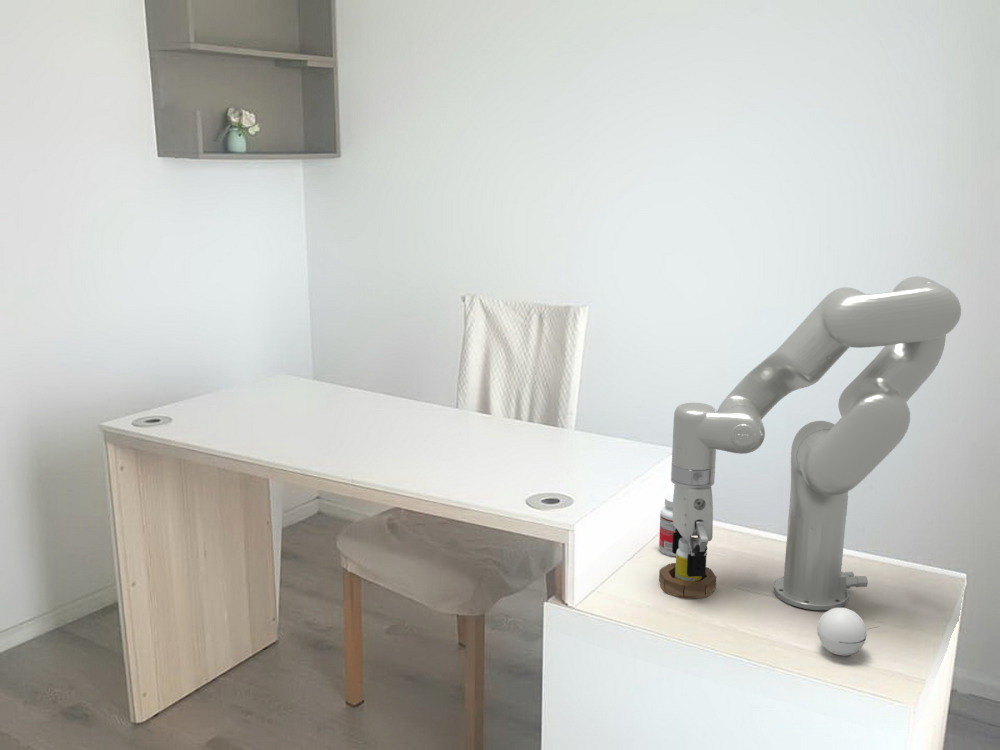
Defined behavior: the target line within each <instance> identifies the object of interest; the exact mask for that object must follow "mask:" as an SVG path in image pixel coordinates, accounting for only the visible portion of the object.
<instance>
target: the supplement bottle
mask: <svg viewBox="0 0 1000 750" xmlns="http://www.w3.org/2000/svg"><path fill="white" fill-rule="evenodd" d="M694 537H695V536H691V538H694ZM696 545H698V542H696V543H693V546H694V548H695V546H696ZM688 554H690V552H689V545H688V541H686V540H685V539H684V538H683V537H682V538H680V539H679V548H678V549H677V552H676V556H675V563H676V569H675V579H678V580H681V581H684V582H697V581H702V576H694V577H689V576H688V575H687V558H688Z"/></svg>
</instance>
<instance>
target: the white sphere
mask: <svg viewBox="0 0 1000 750" xmlns="http://www.w3.org/2000/svg"><path fill="white" fill-rule="evenodd" d="M875 628H880V626H874V627H870V628H868V630H871V629H875ZM817 636H818V638H819V641H820V643H821V645H822V646H823V647H824V648H825V649H826V650H827V651H828V652H830V653H831V654H832V653H833V654H834V655H837V656H851V655H853V654H855V653H857V652H859V651H860V650H861V649H862V647H864V645H865V643H866V640H867V637H868V636H867V626H866V624H865V623H864V620H863V619H862V617H861V616H859V614H858V613H857V612H855V611H854V610H851V609H849V608H846V607H840V608H833V609H830V610H826V611H825V612H824V613H823V614H822V616H821V617H820V618H819V620H818V624H817Z"/></svg>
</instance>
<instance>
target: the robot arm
mask: <svg viewBox="0 0 1000 750" xmlns="http://www.w3.org/2000/svg"><path fill="white" fill-rule="evenodd" d="M961 316H962V308H961V303H960V300H959V298H958V297H957V295H956V294H955V293H954V292H953V291H952V290H951V289H950V288H948V287H946V286H944V285H942V284H940V283H939V282H936V281H935V280H933V279H931V278H927V277H924V276H918V275H917V276H910V277H907V278H905V279H902V281H900V282H898V284H897V285H896V286H895V287H894V288H893V290H892V291H888V292H879V293H864V292H863V291H860V289H856V288H853V287H847V286H846V287H845V286H844V287H838V288H836V289H834V290H833V291H831V292H830V293H828V294H827V295H826V296H825V297H824V298H823V299H822V300H821V301H820V302H819V303H818V304H817V306H815V307H814V309H812V311H811V312H810V313H809V314H808V315H807V317H806V318H805V319H804V320H803V321H802V322H801V323H800V324H799V325H798V326H797V327H796V328H795V330H794V331H793V332H792V333H791V334H790V335H789V336H788V337H787V338H786V340H784V342H783V343H782V344H781V345H780V346H779V347H778V348H776V350H775V351H774V352H772V353H771V354H769V355H768V356H767V357H766V358H765V359H764V360H762V361H761V362H760V363H759V364H757V366H755V367H754V368H753V369H752V370H751V371H750V372H748V373H747V374H746V375H745V376H744V377H743V378H742V380H740V382H739V383H738V384H737V385H736V386H735V387H734V388H733V389H732V390H731V391H730V393H728V395H727V396H726V397H725V399H723V401H722V402H721V403H720V405H719V407H718V408H717V409H716V408H715V407H714V406H712V405H710V404H706V403H701V402H685V403H682V404H679V405H678V406H677V407H676V408H675V410H674V414H673V429H672V430H673V431H672V449H671V452H672V453H671V470H670V471H671V473H670V481H671V483H672V484H673V485H674V487H673V488H674V489H673V494H674V496H673V523H674V525H673V531H674V532H673V544H672V552H673V553H674V554H676V552H677V549H678V548H679V539H680V538H682V537H683V538H684V539H685V540H686V541H688V545H689V552H690V554H688V558H687V575H688V576H689V577H694V576H705V573H706V567H707V556H708V543H709V542H710V541H712V540H713V536H714V535H713V533H714V532H713V531H714V529H713V525H714V524H713V521H714V517H713V516H714V515H713V514H714V511H713V509H714V506H713V504H714V503H713V491H712V486H714V484H715V475H716V461H717V460H716V459H717V458H716V457H717V451H718V450H719V451H724V452H727V453H733V454H739V455H740V454H741V455H742V454H743V455H744V454H745V455H746V454H751V453H753V452H755V451H756V450H759V448H760V447H761V446H762V445H763V443H764V440H765V436H766V431H765V426H764V423H763V421H762V420H763V418H765V416H767V414H768V413H769V412H770V411H771V410H772V409H773V408H774V407H775V406H776V405H777V404H778V403H779V402H780V401H782V400H783V399H784V398H785V397H786V396H788V395H789V394H791V393H793V392H794V391H795V392H796V391H797V390H800V389H804V388H808V387H811V386H813V385H815V384H816V383H818V382H819V381H820V380H821V379H822V378H823V376H825V374H827V372H828V371H829V370H830V369H831V368H832V367H833V366H834V365H835V364H836V363H837V362H838V361H839V359H840V358H841V357H843V355H844V354H845V353H846V352H847V351H848V350H849V349H850V348H856V349H857V348H859V349H861V348H875V347H876V348H877V347H882V349H881V350H880V351H879V353H878V354H877V355H876V356H875V357H874V358H873V359H872V361H870V363H869V364H868V365H867V366H865V368H864V369H863V370H862V371H861V372H860V373H859V374H858V375H857V376H856V377H855V378H854V379H853V380H852V381H851V382H850V383H849V384H848V385H847V386H846V387H845V388H844V389H843V391H842V392H841V394H840V396H839V399H838V402H837V404H838V410H839V414H840V416H841V418H840V419H838V421H837V422H836V423H835V424H834V423H833V422H830V421H826V420H814V421H810V422H809V423H806V424H805V425H804V426H802V427H801V428H800V429H799V430H798V431H797V433H796V434H795V435H794V438H793V440H792V444H791V449H790V450H791V452H790V496H789V506H788V507H789V508H788V519H787V531H786V546H785V556H784V557H785V558H784V559H785V560H784V573H783V576H781V577H779V578H777V580H775V582H774V584H773V591H774V594H775V595H776V596H777V597H778V599H780V600H781V601H783V602H784V603H787V604H789V605H791V606H793V607H796V608H801V609H805V610H811V611H829V610H830V609H833V608H843V607H845V605H846V604H847V603H848V601H849V592H848V590H850V589H851V588H866V587H868V578H867V576H866V575H855V574H854V572H853V571H844V572H842V569H843V568H842V567H843V566H842V565H843V556H844V555H843V554H844V545H845V532H846V522H847V515H848V502H849V499H848V498H849V492H850V491H851V490H854V489H855V487H857V486H858V485H859V484H861V482H862V481H864V480H865V478H867V476H869V474H871V472H873V471H874V470H875V468H876V467H877V466H878V465H880V463H881V462H882V461H884V460H885V458H886V457H888V456H889V454H891V452H892V451H893V450H894V449H896V447H897V446H898V445H899V444H900V443H901V442H902V440H903V439H904V437H905V435H906V434H907V432H908V430H909V426H910V422H911V412H910V408H909V405H908V401H909V400H910V399H912V397H913V396H914V395H915V393H916V392H917V391H919V389H920V388H921V387H922V385H923V384H924V383H925V382H926V381H927V379H929V378H930V376H931V375H932V373H933V372H934V371H935V370H936V367H937V366H938V365H939V363H940V360H941V359H942V356H943V352H944V350H945V345H946V338H947V335H948V334H950V332H951V331H953V330H954V328H955V327H956V326H957V325H958V324H959V321H960V319H961ZM691 537H694V538H691ZM696 542H698V545H696V546H695V548H694V546H693V543H696Z"/></svg>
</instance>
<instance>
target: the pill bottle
mask: <svg viewBox="0 0 1000 750" xmlns="http://www.w3.org/2000/svg"><path fill="white" fill-rule="evenodd" d="M673 496H674V493H671V494H667V495H666V496H665V497H664V506H663V507H662V508H661V509H660V515H659V541H658V542H659V543H658V544H659V545H658V549H659V550H660V552H661V553H662V554H663V555H666V556H670V557H676V554H674V553H673V552H672V544H673V532H674V531H673V525H674V523H673Z"/></svg>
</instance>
